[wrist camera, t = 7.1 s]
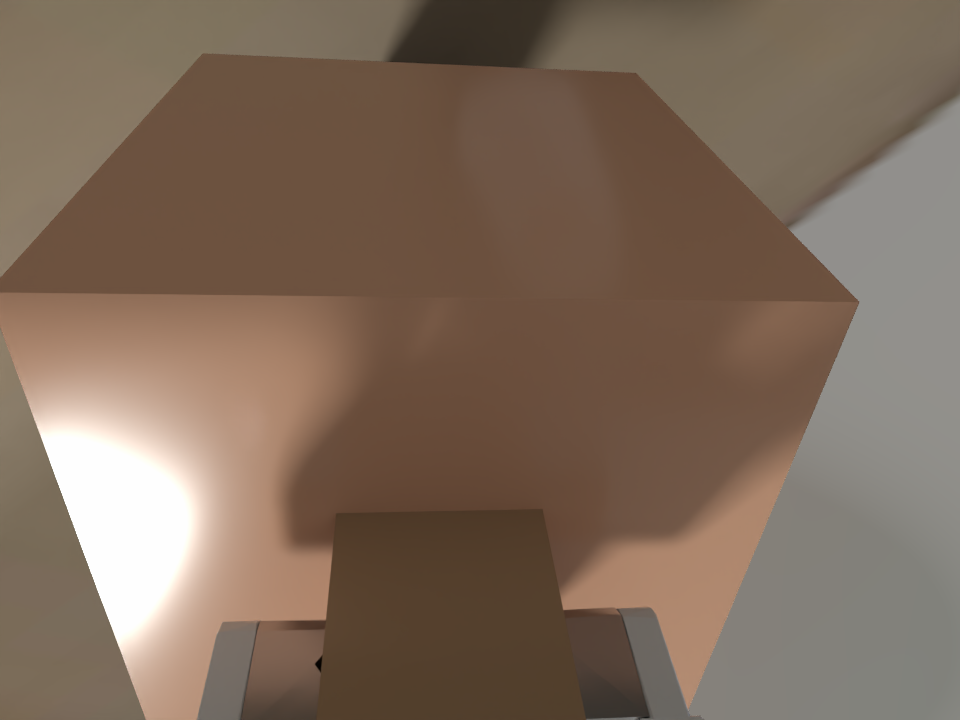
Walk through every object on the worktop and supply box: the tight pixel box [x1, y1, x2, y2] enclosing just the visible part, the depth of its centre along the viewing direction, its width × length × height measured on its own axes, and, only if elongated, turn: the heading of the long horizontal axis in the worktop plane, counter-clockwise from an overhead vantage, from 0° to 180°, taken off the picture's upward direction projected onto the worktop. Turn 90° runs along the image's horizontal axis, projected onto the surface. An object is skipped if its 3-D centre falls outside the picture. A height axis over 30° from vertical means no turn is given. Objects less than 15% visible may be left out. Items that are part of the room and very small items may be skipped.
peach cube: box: [0, 54, 859, 720], centre depth 14 cm, size 10×10×15 cm
